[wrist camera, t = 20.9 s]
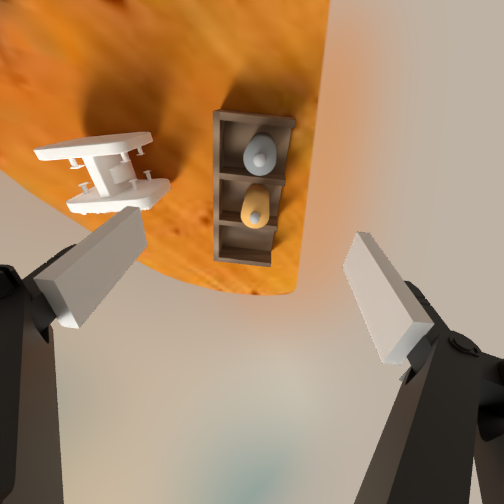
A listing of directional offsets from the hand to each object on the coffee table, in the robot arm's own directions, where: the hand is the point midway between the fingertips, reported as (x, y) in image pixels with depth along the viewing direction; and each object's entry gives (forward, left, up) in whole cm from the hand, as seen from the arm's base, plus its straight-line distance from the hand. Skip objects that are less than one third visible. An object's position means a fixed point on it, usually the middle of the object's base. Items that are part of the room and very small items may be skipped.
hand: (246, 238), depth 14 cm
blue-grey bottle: (0, 0, -30) cm, 31 cm away
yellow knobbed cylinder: (+9, 0, -30) cm, 32 cm away
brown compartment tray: (+9, -2, -32) cm, 33 cm away
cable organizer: (+6, -25, -32) cm, 41 cm away
